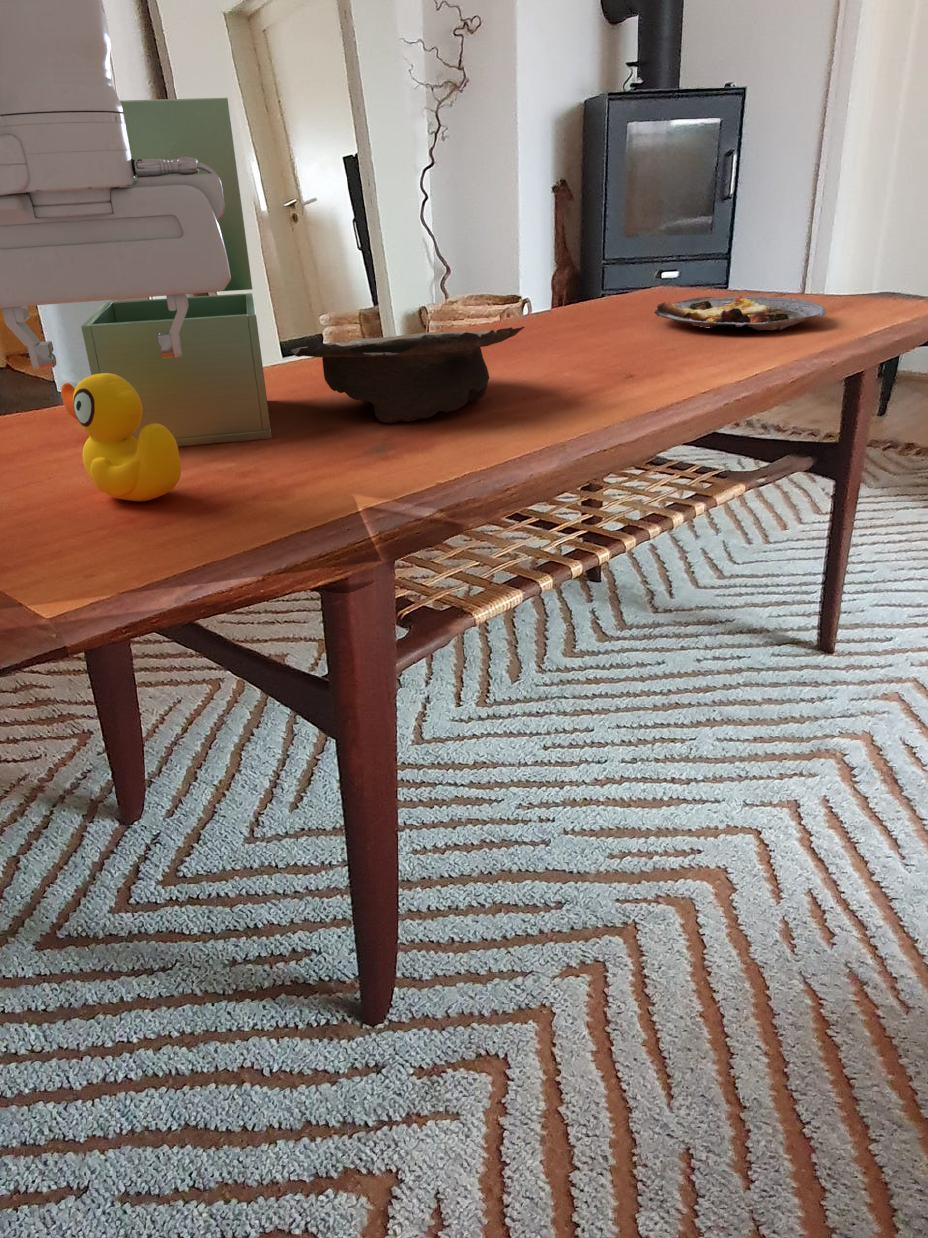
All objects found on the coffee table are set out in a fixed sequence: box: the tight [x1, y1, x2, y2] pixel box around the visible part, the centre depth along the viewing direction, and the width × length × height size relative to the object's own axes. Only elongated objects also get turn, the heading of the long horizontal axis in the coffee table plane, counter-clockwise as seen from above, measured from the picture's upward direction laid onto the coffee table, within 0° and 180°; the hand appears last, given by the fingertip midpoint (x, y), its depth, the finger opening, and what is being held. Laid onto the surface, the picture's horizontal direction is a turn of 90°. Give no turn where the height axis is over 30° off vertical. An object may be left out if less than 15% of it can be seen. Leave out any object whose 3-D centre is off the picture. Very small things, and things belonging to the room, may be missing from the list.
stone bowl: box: [290, 326, 526, 424], centre depth 102 cm, size 25×25×9 cm
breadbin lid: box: [120, 97, 253, 292], centre depth 97 cm, size 18×16×5 cm
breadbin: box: [80, 292, 273, 448], centre depth 96 cm, size 18×16×12 cm
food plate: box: [654, 295, 827, 331], centre depth 143 cm, size 25×23×4 cm
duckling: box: [60, 373, 182, 502], centre depth 75 cm, size 11×5×10 cm, turn 59°
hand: (109, 361), depth 72 cm, fingers open, 8 cm apart
